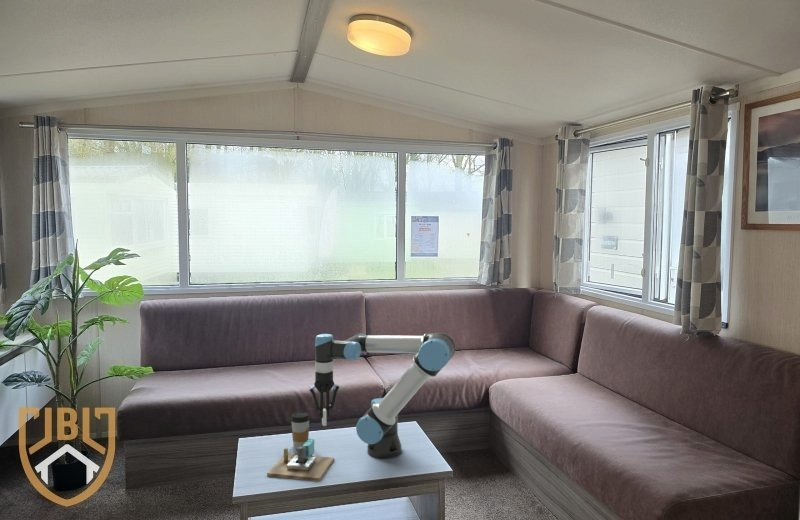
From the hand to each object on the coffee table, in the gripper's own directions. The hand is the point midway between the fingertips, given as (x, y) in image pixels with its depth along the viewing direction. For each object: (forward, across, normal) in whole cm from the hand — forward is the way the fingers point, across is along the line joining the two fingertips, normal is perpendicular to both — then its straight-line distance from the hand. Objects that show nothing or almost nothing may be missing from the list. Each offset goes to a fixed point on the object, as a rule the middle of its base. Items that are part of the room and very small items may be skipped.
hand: (324, 424), depth 218 cm
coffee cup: (+15, +8, -13) cm, 21 cm away
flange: (+13, +9, +4) cm, 16 cm away
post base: (+14, +11, +7) cm, 19 cm away
